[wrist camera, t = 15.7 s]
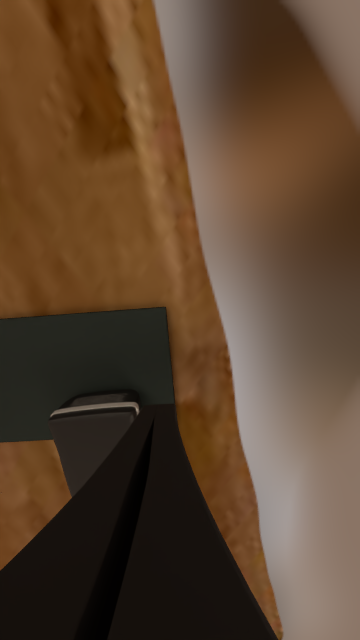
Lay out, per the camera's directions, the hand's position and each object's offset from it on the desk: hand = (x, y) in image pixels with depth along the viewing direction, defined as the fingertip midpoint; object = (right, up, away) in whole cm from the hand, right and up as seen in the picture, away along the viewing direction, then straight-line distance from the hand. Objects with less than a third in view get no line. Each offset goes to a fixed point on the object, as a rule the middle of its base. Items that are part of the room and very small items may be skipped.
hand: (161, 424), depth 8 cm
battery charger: (-6, -2, +7) cm, 9 cm away
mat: (-10, -1, +9) cm, 13 cm away
